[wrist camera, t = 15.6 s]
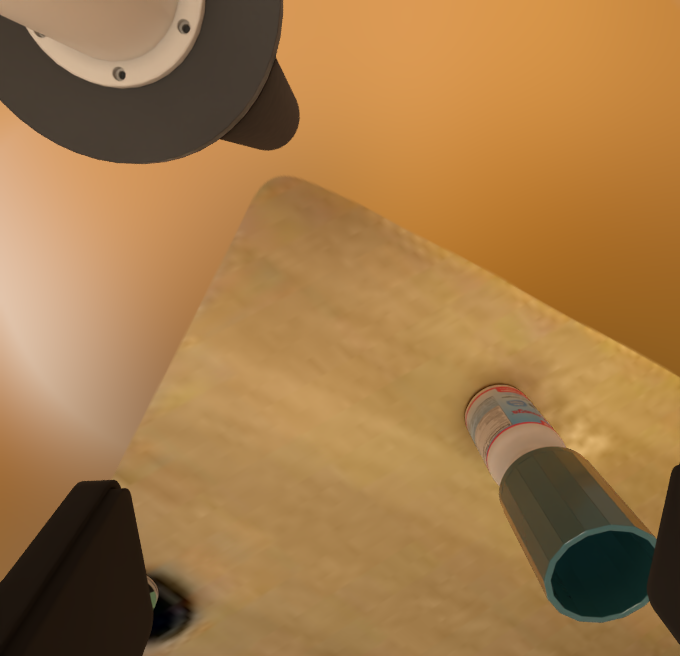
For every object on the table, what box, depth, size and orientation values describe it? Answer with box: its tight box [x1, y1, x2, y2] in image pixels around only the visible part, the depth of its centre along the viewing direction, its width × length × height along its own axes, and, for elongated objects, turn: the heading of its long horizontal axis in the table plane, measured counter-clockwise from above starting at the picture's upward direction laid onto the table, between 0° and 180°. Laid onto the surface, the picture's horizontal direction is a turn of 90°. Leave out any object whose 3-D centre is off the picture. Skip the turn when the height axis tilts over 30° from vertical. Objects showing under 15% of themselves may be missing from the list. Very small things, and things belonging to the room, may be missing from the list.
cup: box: [499, 446, 657, 623], centre depth 31 cm, size 7×7×8 cm
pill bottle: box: [465, 385, 566, 486], centre depth 41 cm, size 6×6×11 cm
